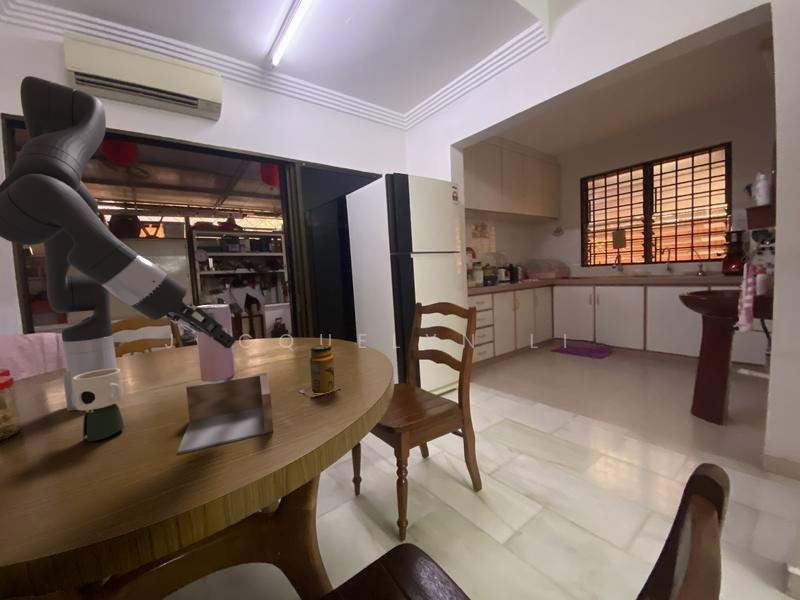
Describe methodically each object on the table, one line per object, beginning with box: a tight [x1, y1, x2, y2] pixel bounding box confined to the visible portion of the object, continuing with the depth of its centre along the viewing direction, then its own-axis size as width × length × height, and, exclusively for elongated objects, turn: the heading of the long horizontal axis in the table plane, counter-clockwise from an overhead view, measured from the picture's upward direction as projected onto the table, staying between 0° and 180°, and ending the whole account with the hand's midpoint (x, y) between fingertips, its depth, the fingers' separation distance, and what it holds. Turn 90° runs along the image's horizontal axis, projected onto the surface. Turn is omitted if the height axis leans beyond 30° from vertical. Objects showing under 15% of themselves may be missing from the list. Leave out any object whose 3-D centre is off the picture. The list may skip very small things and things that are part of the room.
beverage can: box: [196, 303, 236, 384], centre depth 64 cm, size 6×6×15 cm
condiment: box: [299, 344, 336, 394], centre depth 85 cm, size 7×8×12 cm
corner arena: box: [177, 372, 274, 455], centre depth 67 cm, size 16×15×8 cm
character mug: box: [72, 368, 125, 442], centre depth 65 cm, size 11×7×13 cm, turn 73°
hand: (225, 342), depth 65 cm, fingers closed on beverage can, 5 cm apart
